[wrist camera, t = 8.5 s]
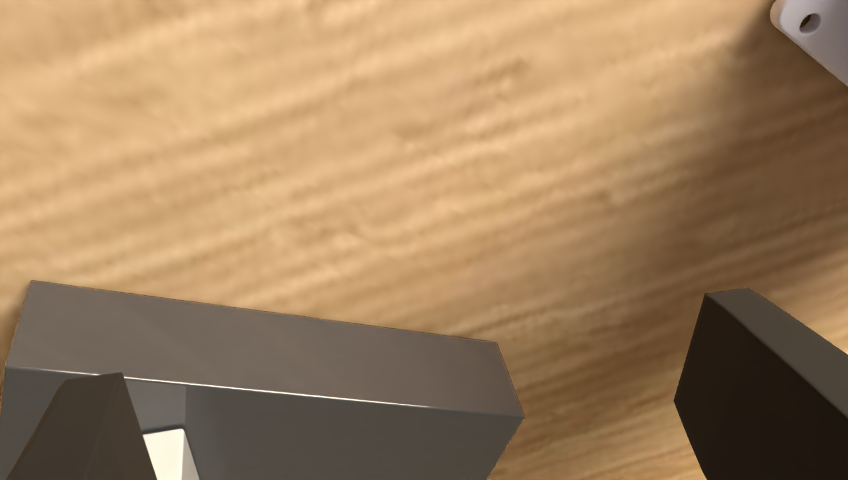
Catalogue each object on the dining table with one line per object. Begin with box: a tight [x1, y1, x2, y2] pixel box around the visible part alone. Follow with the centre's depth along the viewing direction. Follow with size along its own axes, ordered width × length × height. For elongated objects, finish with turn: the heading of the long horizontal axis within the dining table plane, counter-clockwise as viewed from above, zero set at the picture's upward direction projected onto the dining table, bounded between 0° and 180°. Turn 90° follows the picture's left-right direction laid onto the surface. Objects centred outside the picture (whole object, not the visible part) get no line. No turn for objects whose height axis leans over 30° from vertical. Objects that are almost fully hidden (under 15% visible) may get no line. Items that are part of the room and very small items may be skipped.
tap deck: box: [0, 280, 525, 480], centre depth 23 cm, size 13×10×3 cm
